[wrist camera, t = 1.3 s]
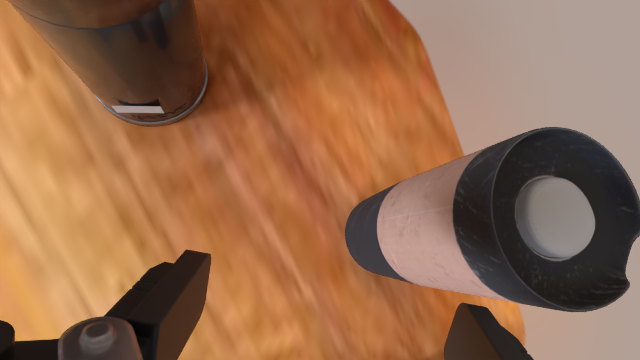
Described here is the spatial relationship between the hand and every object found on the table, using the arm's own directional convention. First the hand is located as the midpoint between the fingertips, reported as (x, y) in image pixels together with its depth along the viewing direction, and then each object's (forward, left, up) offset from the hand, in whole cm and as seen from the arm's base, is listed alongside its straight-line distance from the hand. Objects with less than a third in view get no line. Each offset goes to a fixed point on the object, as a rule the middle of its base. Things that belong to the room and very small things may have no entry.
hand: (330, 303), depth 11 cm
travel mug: (0, +10, -20) cm, 23 cm away
